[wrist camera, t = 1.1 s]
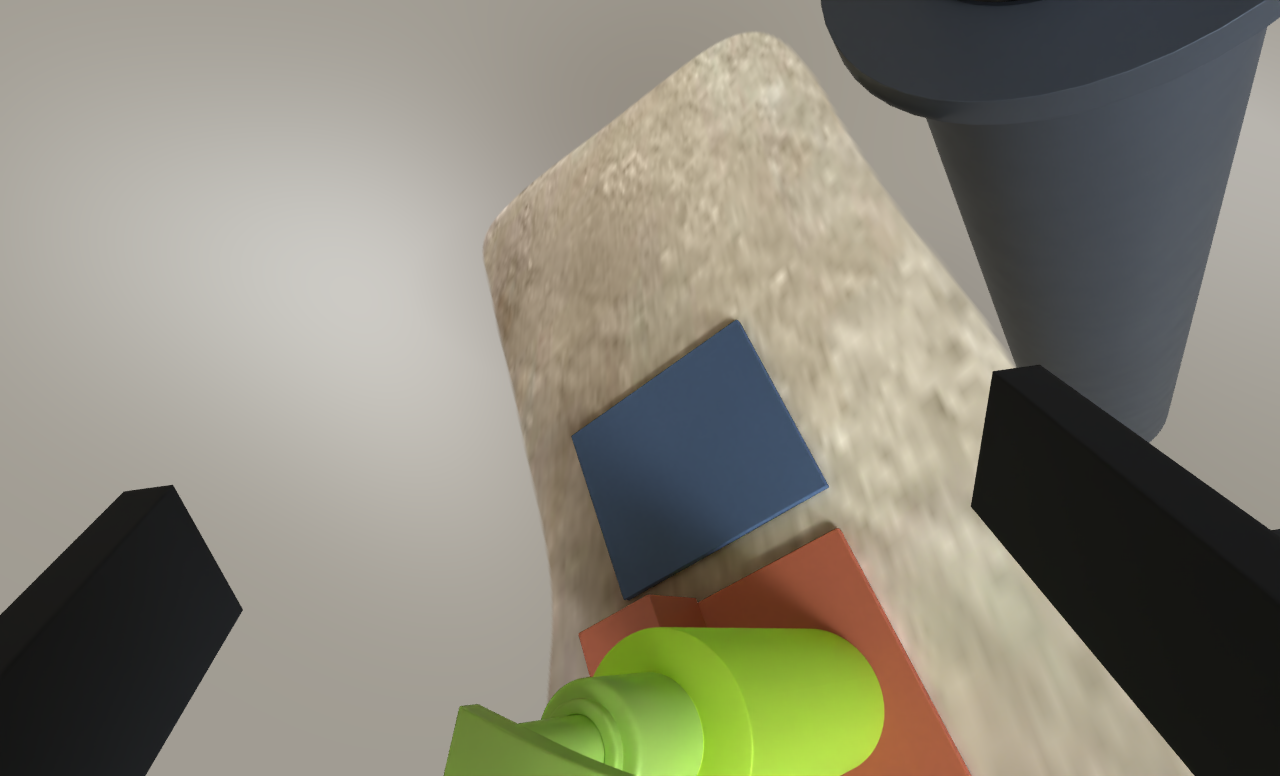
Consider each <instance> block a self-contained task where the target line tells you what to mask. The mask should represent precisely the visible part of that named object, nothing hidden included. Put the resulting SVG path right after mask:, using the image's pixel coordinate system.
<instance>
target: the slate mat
mask: <svg viewBox="0 0 1280 776" xmlns="http://www.w3.org/2000/svg"><path fill="white" fill-rule="evenodd" d="M571 437H572V440H573V443H574V446H575V449H576V452H577V455H578V459H579V462H580V465H581V468H582V471H583V474H584V477H585V480H586V483H587V487H588V490H589V493H590V496H591V499H592V502H593V505H594V508H595V511H596V515H597V518H598V521H599V524H600V527H601V530H602V533H603V536H604V539H605V543H606V546H607V549H608V552H609V555H610V558H611V561H612V564H613V567H614V571H615V574H616V577H617V580H618V583H619V586H620V589H621V592H622V595H623V599H624V600H630V599H632V598H634V597H635V596H637V595H639V594H641V593H642V592H644V591H646V590H648V589H650V588H651V587H653V586H655V585H657V584H658V583H660V582H662V581H664V580H665V579H667V578H669V577H671V576H673V575H674V574H676V573H678V572H680V571H681V570H683V569H685V568H687V567H689V566H690V565H692V564H694V563H696V562H697V561H699V560H701V559H703V558H704V557H706V556H708V555H710V554H712V553H713V552H715V551H717V550H719V549H720V548H722V547H724V546H726V545H727V544H729V543H731V542H733V541H735V540H736V539H738V538H740V537H742V536H743V535H745V534H747V533H749V532H750V531H752V530H754V529H756V528H758V527H759V526H761V525H763V524H765V523H766V522H768V521H770V520H772V519H774V518H775V517H777V516H779V515H781V514H782V513H784V512H786V511H788V510H789V509H791V508H793V507H795V506H797V505H798V504H800V503H802V502H804V501H805V500H807V499H809V498H811V497H812V496H814V495H816V494H818V493H820V492H821V491H823V490H825V489H827V488H828V487H829V486H828V484H827V482H826V480H825V478H824V476H823V475H822V473H821V471H820V469H819V467H818V465H817V464H816V462H815V460H814V458H813V456H812V454H811V452H810V451H809V449H808V447H807V445H806V443H805V441H804V440H803V438H802V436H801V434H800V432H799V430H798V428H797V427H796V425H795V423H794V421H793V419H792V417H791V416H790V414H789V412H788V410H787V408H786V406H785V405H784V403H783V401H782V399H781V397H780V395H779V393H778V392H777V390H776V388H775V386H774V384H773V382H772V381H771V379H770V377H769V375H768V373H767V371H766V369H765V368H764V366H763V364H762V362H761V360H760V358H759V357H758V355H757V353H756V351H755V349H754V347H753V345H752V344H751V342H750V340H749V338H748V336H747V334H746V333H745V331H744V329H743V327H742V325H741V323H740V322H739V321H738V320H735V321H733V322H732V323H730V324H729V325H728V326H726V327H725V328H723V329H722V330H721V331H719V332H718V333H716V334H715V335H714V336H712V337H711V338H709V339H708V340H706V341H705V342H704V343H702V344H701V345H699V346H698V347H697V348H695V349H694V350H692V351H691V352H689V353H688V354H687V355H685V356H684V357H682V358H681V359H680V360H678V361H677V362H675V363H674V364H673V365H671V366H670V367H668V368H667V369H665V370H664V371H663V372H661V373H660V374H658V375H657V376H656V377H654V378H653V379H651V380H650V381H648V382H647V383H646V384H644V385H643V386H641V387H640V388H639V389H637V390H636V391H634V392H633V393H632V394H630V395H629V396H627V397H626V398H624V399H623V400H622V401H620V402H619V403H617V404H616V405H615V406H613V407H612V408H610V409H609V410H608V411H606V412H605V413H603V414H602V415H600V416H599V417H598V418H596V419H595V420H593V421H592V422H591V423H589V424H588V425H586V426H585V427H583V428H582V429H581V430H579V431H578V432H576V433H575V434H574V435H572V436H571Z"/></svg>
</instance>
